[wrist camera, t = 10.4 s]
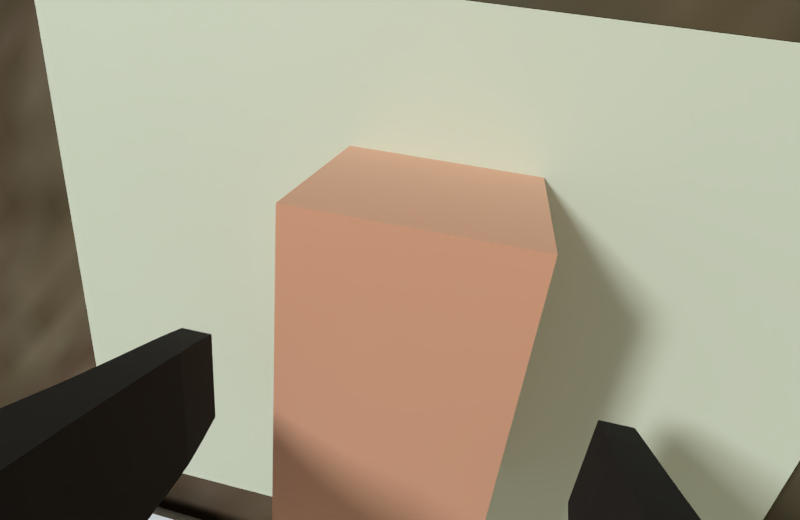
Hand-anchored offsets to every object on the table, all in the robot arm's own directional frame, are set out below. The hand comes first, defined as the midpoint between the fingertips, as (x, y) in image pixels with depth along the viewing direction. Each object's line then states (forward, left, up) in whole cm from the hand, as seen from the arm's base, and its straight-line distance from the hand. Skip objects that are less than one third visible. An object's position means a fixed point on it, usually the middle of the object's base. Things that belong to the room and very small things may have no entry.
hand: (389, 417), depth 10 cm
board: (0, 0, -4) cm, 4 cm away
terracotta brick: (0, 0, -3) cm, 3 cm away
